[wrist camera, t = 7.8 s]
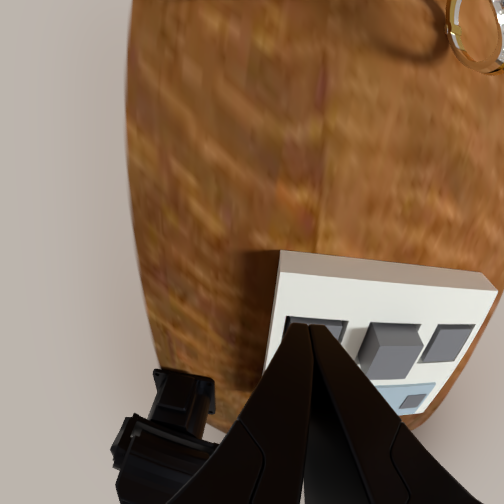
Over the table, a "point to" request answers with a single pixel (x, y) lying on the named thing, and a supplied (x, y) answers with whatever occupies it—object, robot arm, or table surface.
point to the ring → (496, 64)
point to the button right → (446, 342)
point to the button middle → (389, 350)
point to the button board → (381, 310)
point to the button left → (332, 325)
